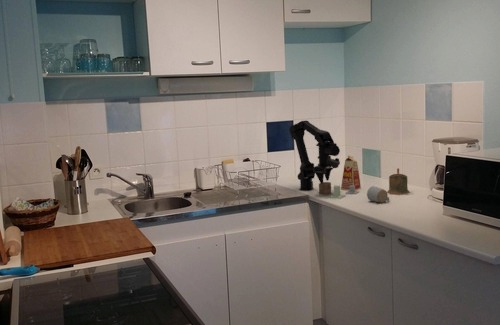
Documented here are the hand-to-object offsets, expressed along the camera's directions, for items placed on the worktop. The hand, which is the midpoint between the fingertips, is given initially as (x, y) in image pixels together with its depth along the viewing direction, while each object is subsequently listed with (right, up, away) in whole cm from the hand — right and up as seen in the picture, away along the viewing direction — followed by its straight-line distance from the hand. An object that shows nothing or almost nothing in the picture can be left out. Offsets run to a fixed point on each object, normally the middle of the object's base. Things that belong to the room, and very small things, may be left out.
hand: (324, 181), depth 288 cm
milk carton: (+17, -5, +10) cm, 20 cm away
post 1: (+6, -8, -9) cm, 13 cm away
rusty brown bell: (+41, -5, -3) cm, 41 cm away
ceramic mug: (+25, -9, -24) cm, 36 cm away
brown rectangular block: (0, -7, +1) cm, 7 cm away
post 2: (+15, -6, -1) cm, 17 cm away
